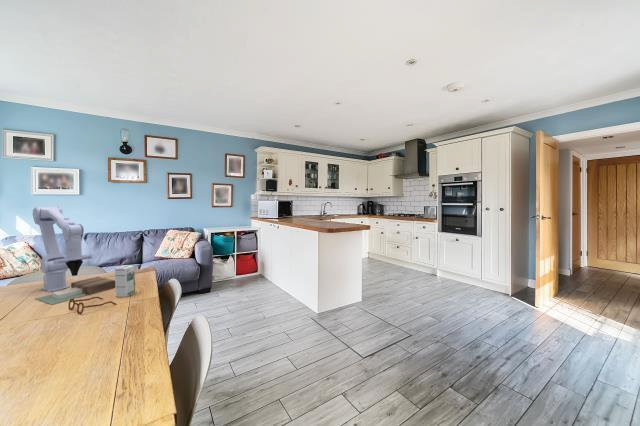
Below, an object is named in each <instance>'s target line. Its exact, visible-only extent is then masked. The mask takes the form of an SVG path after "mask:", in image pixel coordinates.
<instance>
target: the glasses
mask: <svg viewBox="0 0 640 426" xmlns="http://www.w3.org/2000/svg"><path fill="white" fill-rule="evenodd" d="M94 299H99V300H101V301H102V300H104V297H99V296H94V297H90V298H84V299H70V300H68V301H69V302H68V310H69V311H73V310H74V308H75V305H76V306H77V309H76V312H77V314H78V315H81V314H83V313H84V309H85V308H94V307H101V306H103V305H107V304H112V305H114V306H116V305H117V303H116V302H113V301H112V300H110V301H105V302H104V303H100V304H94V305H93V304H92V305H85V303H84V302H85V301H91V300H94ZM78 302H79V303H78ZM71 303H72V307H71ZM80 306H82V307H81V311H80Z"/></svg>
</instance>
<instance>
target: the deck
mask: <svg viewBox="0 0 640 426" xmlns="http://www.w3.org/2000/svg"><path fill="white" fill-rule="evenodd" d="M75 287H77V288H80V289H82V292H83V293H82V294H86V295H87V296H89V295H90V296H91V295H94V294H97V293H98V294H99V293H102V292H104V291H109V290H112V289H116V287H115V279H110V278H106V277H102V276H95V277H91V278H86V279H82V280H78V281H73V282H71V283H70V289H71V288H75Z"/></svg>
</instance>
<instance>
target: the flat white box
mask: <svg viewBox="0 0 640 426" xmlns="http://www.w3.org/2000/svg"><path fill="white" fill-rule="evenodd" d="M80 293H82V294H83V292H82V289H80V288H77V287H75V288H71V287H70V288H69V289H68V288H66V289H62V290H60V291H59V290H58V291H55V292H53V293H52V294H53V297H54V298H57V299H61V298H65V297H69V296H73V295H77V294H80Z"/></svg>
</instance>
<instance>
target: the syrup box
mask: <svg viewBox="0 0 640 426" xmlns="http://www.w3.org/2000/svg"><path fill="white" fill-rule="evenodd" d="M135 274H136V273H135V265H132V264H126V265H121V266H118V267H115V268H114V280H115V297H119V298H127V297H129V296H132V295H134V294H136V280H135V279H136V278H135V277H136V276H135Z"/></svg>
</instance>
